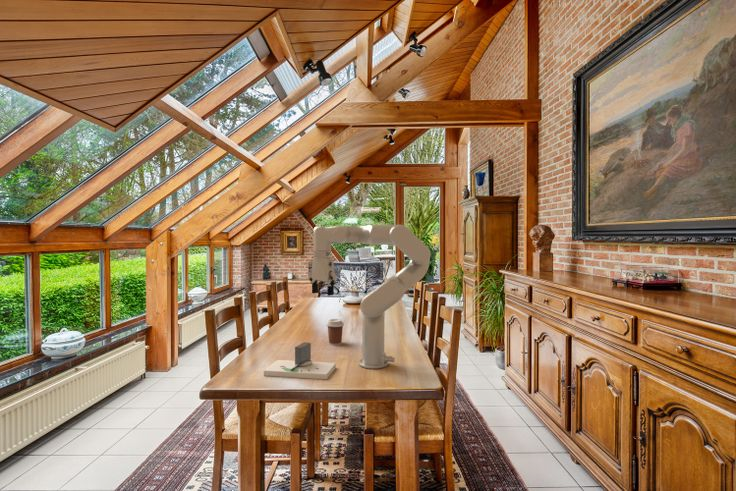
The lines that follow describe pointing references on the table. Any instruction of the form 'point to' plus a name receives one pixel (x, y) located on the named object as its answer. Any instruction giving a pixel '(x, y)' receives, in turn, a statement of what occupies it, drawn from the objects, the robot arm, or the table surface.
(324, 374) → the dial board
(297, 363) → the grey boxy piece
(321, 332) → the table surface
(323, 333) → the table surface
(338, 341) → the coffee cup
